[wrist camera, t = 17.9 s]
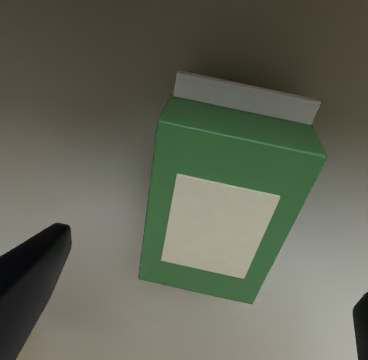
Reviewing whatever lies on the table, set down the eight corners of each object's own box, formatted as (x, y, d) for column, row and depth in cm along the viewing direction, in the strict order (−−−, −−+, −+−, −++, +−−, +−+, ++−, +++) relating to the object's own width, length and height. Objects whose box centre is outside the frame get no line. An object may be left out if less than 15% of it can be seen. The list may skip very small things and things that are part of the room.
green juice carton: (244, 243, 16) (247, 318, 13) (156, 224, 17) (135, 293, 13) (310, 81, 11) (344, 132, 8) (183, 54, 11) (159, 93, 8)
